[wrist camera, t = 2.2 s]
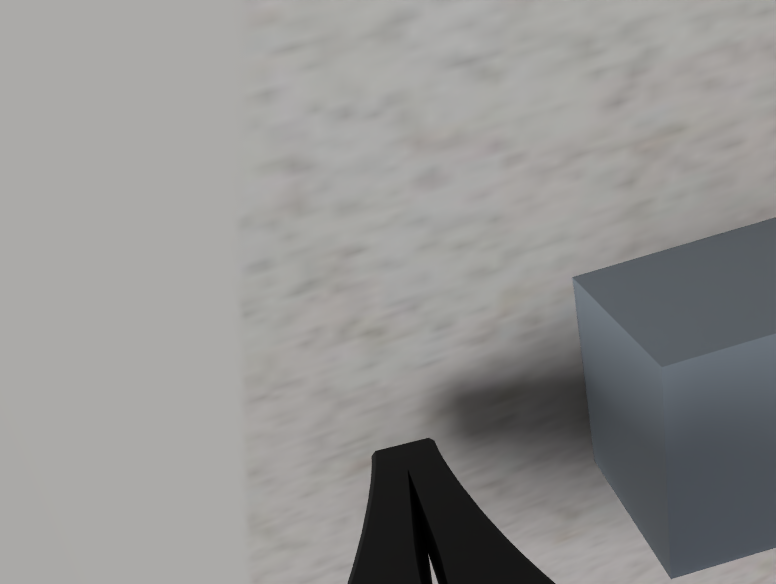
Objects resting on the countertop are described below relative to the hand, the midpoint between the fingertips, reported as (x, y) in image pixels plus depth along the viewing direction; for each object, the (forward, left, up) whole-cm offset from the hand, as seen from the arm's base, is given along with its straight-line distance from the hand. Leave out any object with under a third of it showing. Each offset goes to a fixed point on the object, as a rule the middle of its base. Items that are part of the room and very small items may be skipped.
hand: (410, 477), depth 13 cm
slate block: (0, -8, -2) cm, 8 cm away
